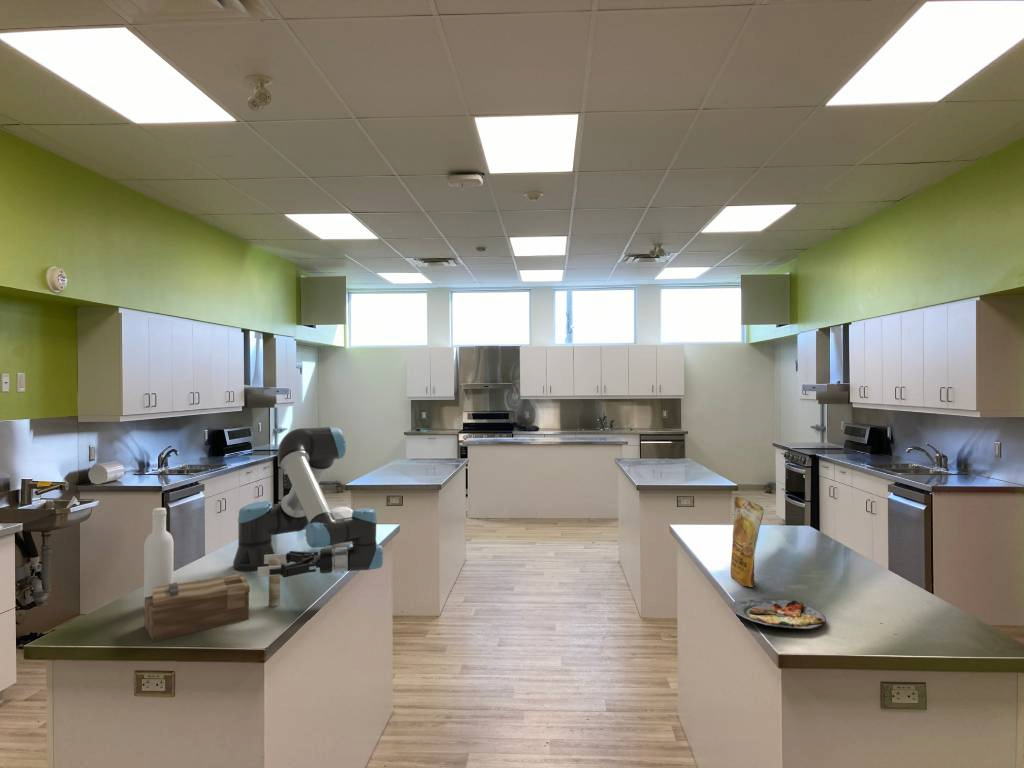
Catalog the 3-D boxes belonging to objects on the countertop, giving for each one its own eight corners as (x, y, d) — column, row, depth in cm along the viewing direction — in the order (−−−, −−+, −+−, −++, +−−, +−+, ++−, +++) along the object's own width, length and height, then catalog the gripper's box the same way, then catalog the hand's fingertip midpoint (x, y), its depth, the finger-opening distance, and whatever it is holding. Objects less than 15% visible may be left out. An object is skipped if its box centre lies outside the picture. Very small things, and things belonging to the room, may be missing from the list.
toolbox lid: (152, 592, 171) (152, 583, 171) (242, 578, 184) (242, 570, 184) (153, 607, 159) (153, 597, 159) (249, 591, 172) (249, 582, 172)
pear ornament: (358, 501, 246) (370, 517, 271) (304, 503, 245) (321, 519, 270) (355, 541, 239) (368, 554, 264) (299, 543, 238) (317, 556, 263)
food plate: (813, 608, 181) (813, 596, 181) (837, 639, 158) (837, 626, 158) (727, 601, 186) (727, 590, 186) (738, 631, 164) (738, 618, 164)
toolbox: (144, 625, 167) (144, 597, 167) (234, 605, 182) (235, 579, 183) (153, 641, 156) (153, 611, 156) (248, 619, 172) (248, 591, 172)
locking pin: (267, 605, 183) (267, 559, 183) (277, 602, 185) (277, 557, 186) (271, 607, 181) (271, 561, 181) (281, 605, 183) (281, 559, 183)
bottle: (174, 607, 181) (175, 509, 182) (144, 612, 177) (145, 512, 177) (171, 599, 188) (172, 505, 188) (142, 604, 183) (143, 508, 184)
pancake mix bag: (743, 572, 215) (742, 495, 216) (766, 590, 196) (765, 505, 197) (724, 572, 215) (724, 495, 216) (745, 590, 196) (745, 505, 197)
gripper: (331, 584, 176) (254, 590, 170) (334, 561, 200) (266, 566, 194) (331, 559, 176) (254, 564, 170) (334, 539, 200) (266, 543, 194)
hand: (261, 565), depth 182 cm, fingers open, 13 cm apart
